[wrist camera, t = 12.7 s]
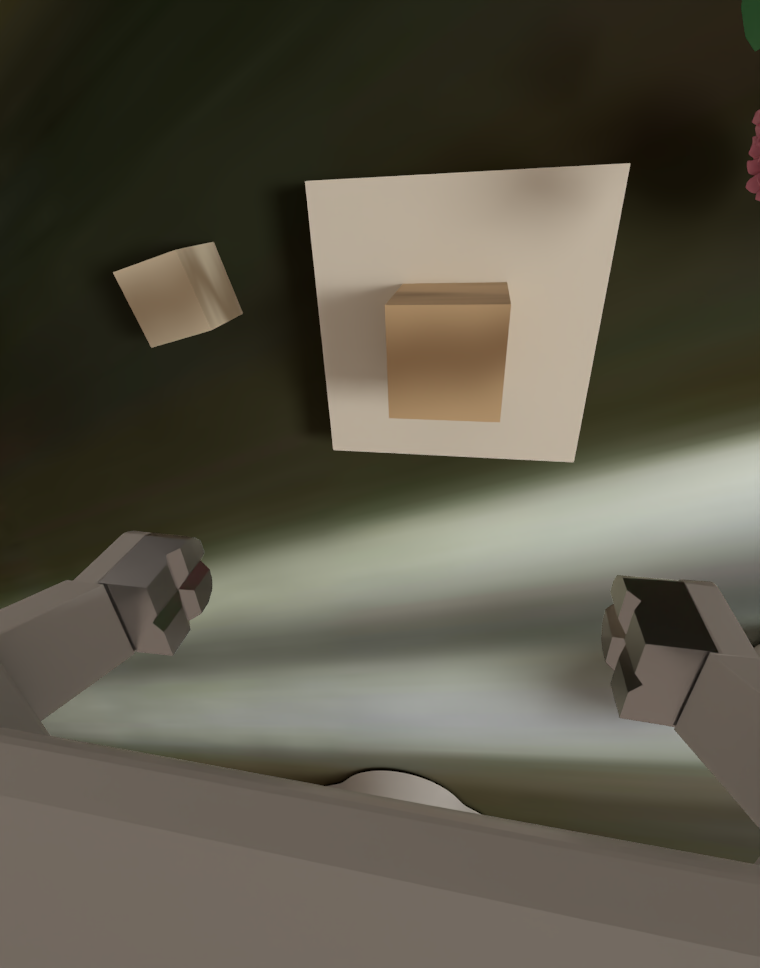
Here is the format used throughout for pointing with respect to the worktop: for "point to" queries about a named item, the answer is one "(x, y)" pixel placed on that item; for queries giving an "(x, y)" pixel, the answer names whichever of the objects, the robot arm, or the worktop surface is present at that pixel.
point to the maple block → (179, 293)
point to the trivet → (467, 259)
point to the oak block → (447, 350)
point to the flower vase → (756, 18)
